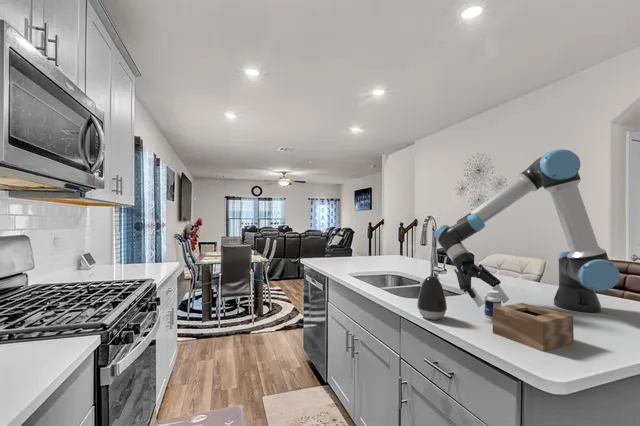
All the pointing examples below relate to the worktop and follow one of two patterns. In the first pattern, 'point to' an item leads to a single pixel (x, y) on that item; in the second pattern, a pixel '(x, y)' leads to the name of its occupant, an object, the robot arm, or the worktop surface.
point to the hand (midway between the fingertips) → (494, 303)
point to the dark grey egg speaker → (432, 299)
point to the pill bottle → (491, 302)
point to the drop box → (533, 326)
